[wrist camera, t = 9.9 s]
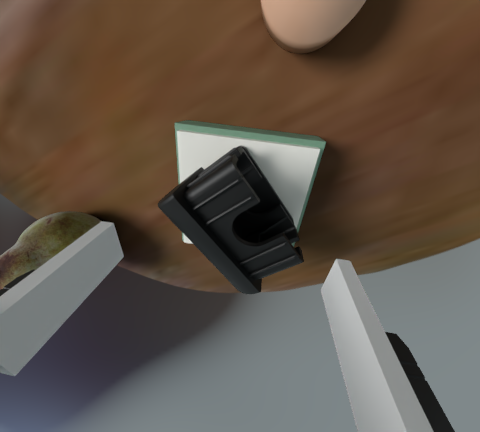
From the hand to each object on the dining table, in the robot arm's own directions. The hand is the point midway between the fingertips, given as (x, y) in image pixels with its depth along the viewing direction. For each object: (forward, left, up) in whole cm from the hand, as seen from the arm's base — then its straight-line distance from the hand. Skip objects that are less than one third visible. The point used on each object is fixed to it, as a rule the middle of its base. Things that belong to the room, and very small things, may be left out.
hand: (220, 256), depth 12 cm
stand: (0, 0, -12) cm, 12 cm away
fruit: (+10, -21, -13) cm, 27 cm away
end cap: (0, 0, -9) cm, 8 cm away
